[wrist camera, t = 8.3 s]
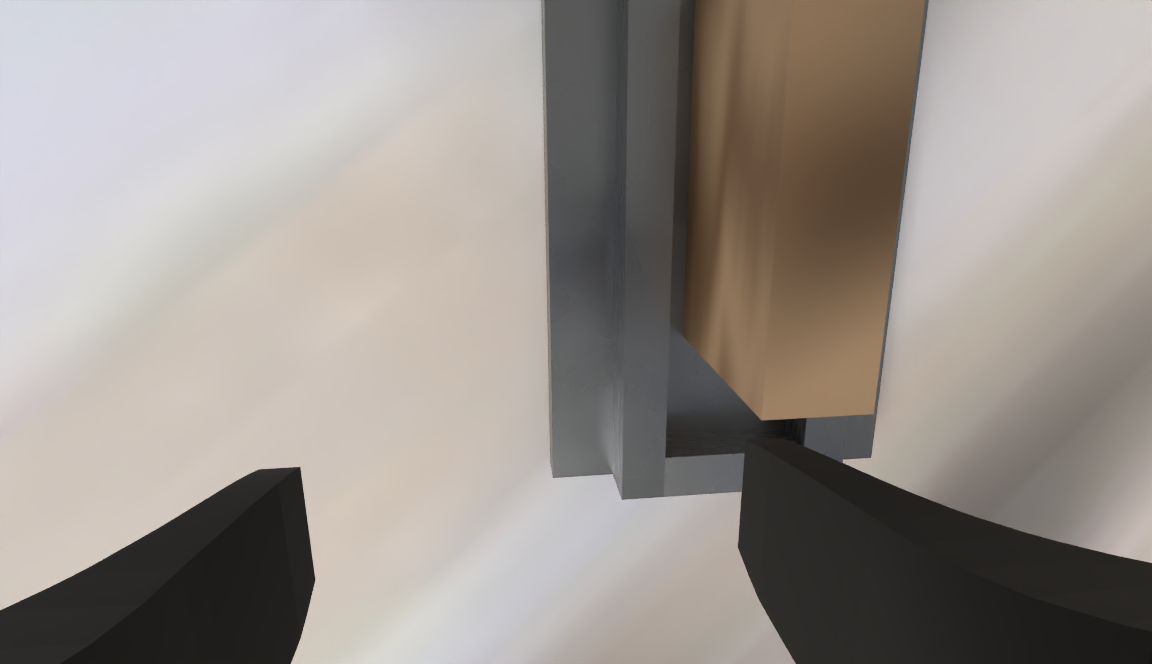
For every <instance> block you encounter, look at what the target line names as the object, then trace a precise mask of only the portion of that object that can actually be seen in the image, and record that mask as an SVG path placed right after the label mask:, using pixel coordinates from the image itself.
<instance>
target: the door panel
mask: <svg viewBox="0 0 1152 664" xmlns="http://www.w3.org/2000/svg"><path fill="white" fill-rule="evenodd" d="M924 6H925V0H695V23H694V49H693V75H692V101H691V128H690V154H689V180H688V206H687V233H686V259H685V285H684V312H683V337H684V338H685V339H686V340H687V341H688V343H689V344H690V345H691V346H692V347H693V348H694V349H695V350H696V351H697V352H698V353H699V354H700V355H701V356H702V357H703V359H704V360H705V361H706V362H707V363H708V364H709V365H710V366H711V367H712V368H713V369H714V370H715V371H716V372H717V373H718V375H719V376H720V377H721V378H722V379H723V380H724V381H725V382H726V383H727V384H728V385H729V386H730V387H731V388H732V389H733V391H734V392H735V393H736V394H737V395H738V396H739V397H740V398H741V399H742V400H743V401H744V402H745V403H746V404H747V405H748V407H749V408H750V409H751V410H752V411H753V412H754V413H755V414H756V415H757V416H758V417H759V418H760V419H761V420H779V419H796V418H814V417H832V416H850V415H867V414H874V408H875V400H876V392H877V384H878V376H879V368H880V360H881V352H882V344H883V336H884V327H885V319H886V311H887V303H888V295H889V287H890V279H891V271H892V263H893V255H894V247H895V239H896V231H897V223H898V215H899V207H900V199H901V191H902V183H903V175H904V167H905V159H906V151H907V143H908V135H909V127H910V118H911V110H912V102H913V94H914V86H915V78H916V70H917V62H918V54H919V46H920V38H921V30H922V22H923V14H924Z"/></svg>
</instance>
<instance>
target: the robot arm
mask: <svg viewBox="0 0 1152 664" xmlns="http://www.w3.org/2000/svg"><path fill="white" fill-rule="evenodd" d="M738 549H739V551H740V554H741V556H742V559H743V562H744V564H745V567H746V569H747V572H748V575H749V577H750V579H751V582H752V584H753V587H754V589H755V591H756V594H757V596H758V598H759V600H760V602H761V604H762V606H763V608H764V609H765V611H766V613H767V615H768V616H769V618H770V620H771V622H772V623H773V625H774V627H775V629H776V630H777V632H778V634H779V636H780V637H781V639H782V641H783V643H784V644H785V646H786V648H787V649H788V651H789V653H790V654H791V656H792V658H793V660H794V661H795V663H796V664H1152V563H1149V562H1144V561H1139V560H1134V559H1129V558H1124V557H1119V556H1115V555H1110V554H1106V553H1102V552H1098V551H1094V550H1090V549H1086V548H1082V547H1078V546H1074V545H1069V544H1065V543H1061V542H1057V541H1053V540H1050V539H1046V538H1043V537H1039V536H1035V535H1032V534H1028V533H1025V532H1021V531H1018V530H1015V529H1012V528H1009V527H1006V526H1002V525H999V524H996V523H993V522H990V521H987V520H983V519H980V518H977V517H974V516H971V515H968V514H966V513H963V512H960V511H957V510H954V509H951V508H949V507H946V506H944V505H941V504H939V503H936V502H933V501H931V500H928V499H926V498H923V497H921V496H918V495H915V494H913V493H910V492H908V491H906V490H903V489H901V488H898V487H896V486H894V485H891V484H889V483H887V482H884V481H882V480H880V479H877V478H875V477H873V476H871V475H868V474H866V473H864V472H861V471H859V470H857V469H855V468H853V467H850V466H848V465H846V464H844V463H841V462H839V461H837V460H835V459H832V458H830V457H828V456H826V455H823V454H821V453H819V452H816V451H814V450H812V449H809V448H807V447H804V446H802V445H799V444H797V443H794V442H791V441H787V440H784V439H765V440H748V441H745V454H744V468H743V483H742V497H741V512H740V526H739V541H738ZM314 583H315V575H314V568H313V560H312V553H311V545H310V538H309V530H308V523H307V515H306V508H305V500H304V493H303V485H302V478H301V470H300V467H293V468H276V469H260V470H257V471H255V472H253V473H250V474H249V475H247V476H245V477H243V478H241V479H239V480H237V481H236V482H234V483H232V484H231V485H229V486H227V487H225V488H224V489H222V490H220V491H219V492H217V493H216V494H214V495H212V496H211V497H209V498H207V499H206V500H204V501H202V502H201V503H199V504H198V505H196V506H194V507H193V508H191V509H189V510H188V511H186V512H184V513H183V514H181V515H180V516H178V517H176V518H175V519H173V520H171V521H170V522H168V523H166V524H165V525H163V526H161V527H160V528H158V529H156V530H155V531H153V532H151V533H149V534H148V535H146V536H144V537H142V538H141V539H139V540H137V541H135V542H133V543H132V544H130V545H128V546H126V547H125V548H123V549H121V550H119V551H118V552H116V553H114V554H112V555H110V556H109V557H107V558H105V559H103V560H102V561H100V562H98V563H96V564H94V565H93V566H91V567H89V568H87V569H85V570H83V571H81V572H79V573H77V574H76V575H74V576H72V577H70V578H68V579H66V580H64V581H62V582H60V583H58V584H56V585H54V586H52V587H50V588H47V589H45V590H43V591H41V592H39V593H37V594H35V595H32V596H30V597H28V598H26V599H24V600H22V601H20V602H18V603H15V604H13V605H11V606H9V607H7V608H5V609H2V610H0V664H291V661H292V659H293V656H294V654H295V651H296V649H297V646H298V644H299V641H300V638H301V635H302V631H303V627H304V623H305V620H306V616H307V612H308V608H309V604H310V600H311V595H312V591H313V587H314Z"/></svg>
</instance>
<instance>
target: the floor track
mask: <svg viewBox="0 0 1152 664" xmlns="http://www.w3.org/2000/svg"><path fill="white" fill-rule="evenodd" d="M928 1H929V0H925V6H924V14H923V22H922V30H921V38H920V46H919V54H918V62H917V70H916V78H915V86H914V94H913V102H912V110H911V118H910V127H909V135H908V143H907V151H906V159H905V167H904V175H903V183H902V191H901V199H900V207H899V215H898V223H897V231H896V239H895V247H894V255H893V263H892V271H891V279H890V287H889V295H888V303H887V311H886V319H885V327H884V336H883V344H882V352H881V360H880V368H879V376H878V384H877V392H876V400H875V408H874V414H867V415H850V416H832V417H814V418H796V419H779V420H761V419H760V418H759V417H758V416H757V415H756V414H755V413H754V412H753V411H752V410H751V409H750V408H749V407H748V405H747V404H746V403H745V402H744V401H743V400H742V399H741V398H740V397H739V396H738V395H737V394H736V393H735V392H734V391H733V389H732V388H731V387H730V386H729V385H728V384H727V383H726V382H725V381H724V380H723V379H722V378H721V377H720V376H719V375H718V373H717V372H716V371H715V370H714V369H713V368H712V367H711V366H710V365H709V364H708V363H707V362H706V361H705V360H704V359H703V357H702V356H701V355H700V354H699V353H698V352H697V351H696V350H695V349H694V348H693V347H692V346H691V345H690V344H689V343H688V341H687V340H686V339H685V338H684V337H683V312H684V285H685V259H686V233H687V206H688V180H689V154H690V128H691V101H692V75H693V49H694V23H695V0H541V7H542V59H543V110H544V161H545V212H546V264H547V315H548V366H549V417H550V463H551V469H552V474H553V478H558V477H574V476H589V475H605V474H613V476H614V479H615V481H616V484H617V487H618V490H619V493H620V495H621V498H622V500H623V499H638V498H653V497H668V496H682V495H697V494H712V493H726V492H741V491H742V483H743V468H744V454H745V441H748V440H765V439H784V440H787V441H791V442H794V443H797V444H799V445H802V446H804V447H807V448H809V449H812V450H814V451H816V452H819V453H821V454H823V455H826V456H828V457H830V458H832V459H835V460H837V461H839V462H841V463H842V461H843V459H856V458H871V454H872V446H873V438H874V430H875V422H876V414H877V407H878V399H879V391H880V383H881V375H882V367H883V359H884V351H885V343H886V335H887V327H888V319H889V311H890V303H891V295H892V287H893V279H894V271H895V264H896V256H897V248H898V240H899V232H900V224H901V216H902V208H903V200H904V192H905V184H906V176H907V168H908V160H909V152H910V144H911V136H912V128H913V121H914V113H915V105H916V97H917V89H918V81H919V73H920V65H921V57H922V49H923V41H924V33H925V25H926V17H927V9H928Z"/></svg>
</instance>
